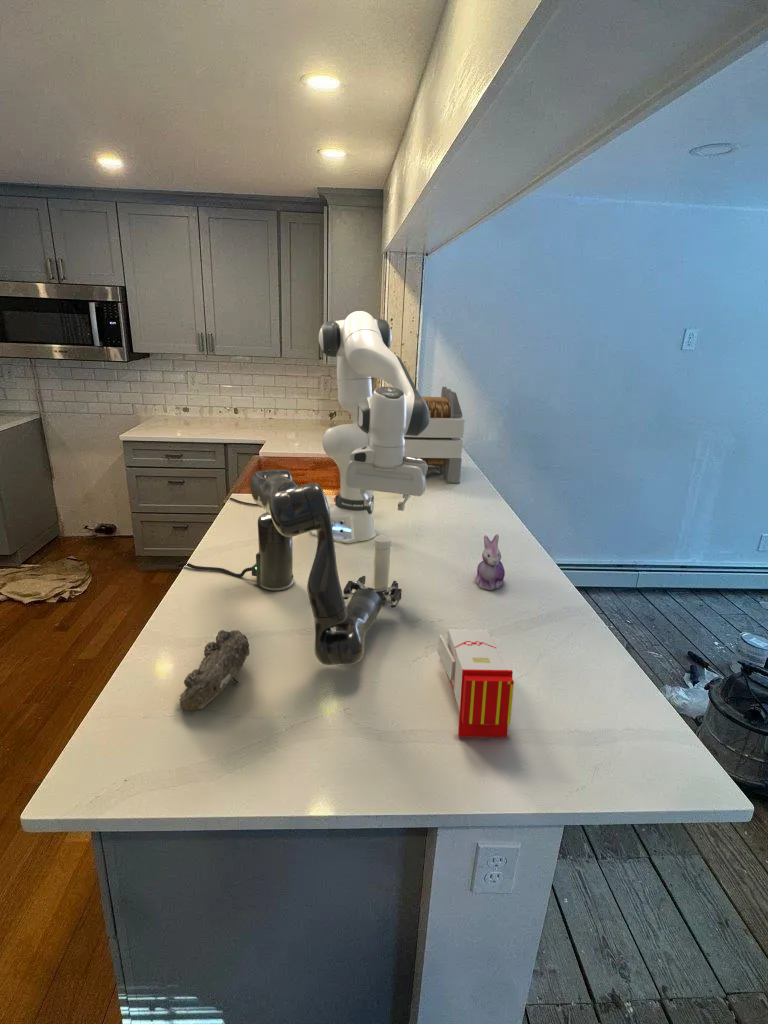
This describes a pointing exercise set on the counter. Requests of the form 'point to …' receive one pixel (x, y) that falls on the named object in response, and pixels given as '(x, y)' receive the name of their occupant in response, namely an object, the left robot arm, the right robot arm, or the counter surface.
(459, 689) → the toy
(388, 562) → the cream cylinder
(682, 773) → the counter surface
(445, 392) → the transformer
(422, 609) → the counter surface
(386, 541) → the lid
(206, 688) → the fossil
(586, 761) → the counter surface
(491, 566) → the figurine
